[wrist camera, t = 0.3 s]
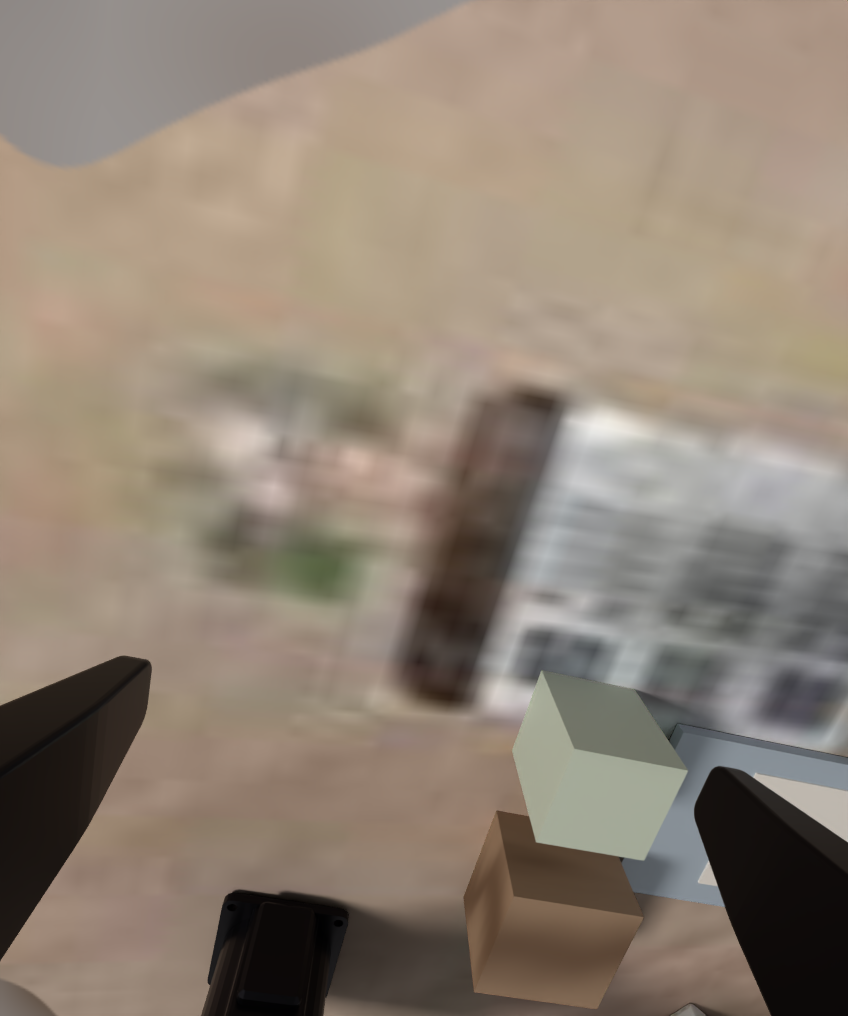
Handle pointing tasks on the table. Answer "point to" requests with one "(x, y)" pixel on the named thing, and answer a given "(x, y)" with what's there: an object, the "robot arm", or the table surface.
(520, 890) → the walnut block
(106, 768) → the robot arm
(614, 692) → the sage block
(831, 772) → the board
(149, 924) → the table surface
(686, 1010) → the skincare box
